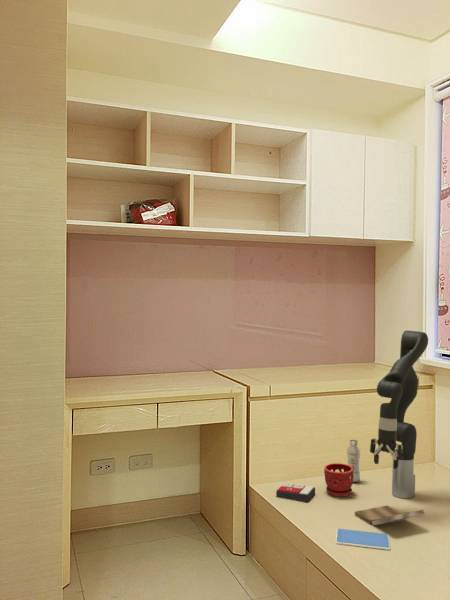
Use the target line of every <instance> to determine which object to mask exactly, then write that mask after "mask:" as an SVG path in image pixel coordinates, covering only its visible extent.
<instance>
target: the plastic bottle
mask: <svg viewBox="0 0 450 600" xmlns="http://www.w3.org/2000/svg"><path fill="white" fill-rule="evenodd" d="M358 441H359V440H356V439H349V446H348V447H347V449H346V457H347V465H349V466H351V467H352V468H353V483H358V482H360V479H361V474H360V456H361V449H360V448H359V447H358V444H359V443H358ZM350 479H351V476H350Z"/></svg>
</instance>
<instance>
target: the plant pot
mask: <svg viewBox="0 0 450 600" xmlns="http://www.w3.org/2000/svg"><path fill="white" fill-rule="evenodd" d="M337 470H338V471H337ZM342 470H343V471H342ZM323 473H324V474H323V475H324V480H325V484H326V492H327V493H328V494H330V495H332V496H335V497H347V496H350V495H351V493H352V492H353V489H352V486H353V483H354V482H353V468H352V467H351V466H349V465H348V464H346V463H341V462H339V463H338V462H333V463H328V464H326V465H325V466H324V468H323ZM350 476H351V479H350Z"/></svg>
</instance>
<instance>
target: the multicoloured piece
mask: <svg viewBox="0 0 450 600" xmlns="http://www.w3.org/2000/svg"><path fill="white" fill-rule="evenodd" d="M275 492H276V498H281V499H285V500H291V501H298V502H302V503H310V501H312V499H314V497H315V496H316V487H315V486H311V485H305V484H296V483H295V484H294V483H290V482H289V483H288V482H284V483H283V484H282V485H280V487H278V489H277V490H275Z"/></svg>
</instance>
